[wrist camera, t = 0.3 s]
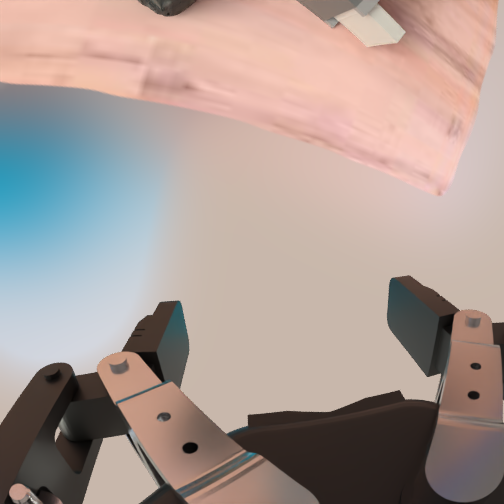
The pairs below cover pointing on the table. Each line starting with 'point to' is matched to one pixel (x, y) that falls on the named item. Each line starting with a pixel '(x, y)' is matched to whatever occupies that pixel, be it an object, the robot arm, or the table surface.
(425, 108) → the table surface
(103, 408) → the robot arm
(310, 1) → the grey box
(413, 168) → the table surface
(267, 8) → the table surface
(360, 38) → the side door
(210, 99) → the table surface
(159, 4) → the camera
